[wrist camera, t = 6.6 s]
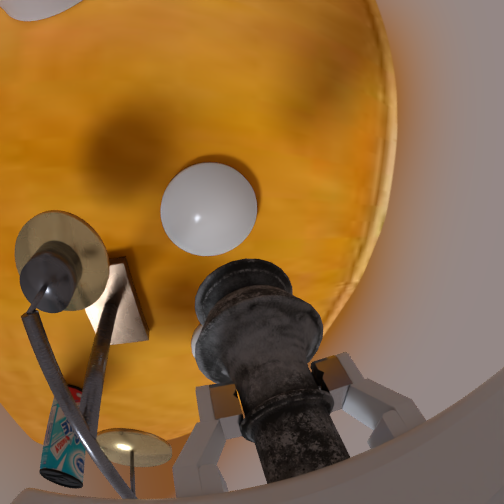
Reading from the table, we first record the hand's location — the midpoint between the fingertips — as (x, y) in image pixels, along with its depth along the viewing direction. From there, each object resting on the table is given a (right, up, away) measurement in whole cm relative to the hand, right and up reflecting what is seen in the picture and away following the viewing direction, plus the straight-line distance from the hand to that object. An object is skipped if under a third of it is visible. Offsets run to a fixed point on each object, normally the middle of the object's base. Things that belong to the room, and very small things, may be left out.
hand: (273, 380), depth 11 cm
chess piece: (-1, +2, +5) cm, 6 cm away
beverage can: (-28, -16, +24) cm, 40 cm away
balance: (-16, 0, +19) cm, 25 cm away
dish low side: (-5, +9, +17) cm, 20 cm away
